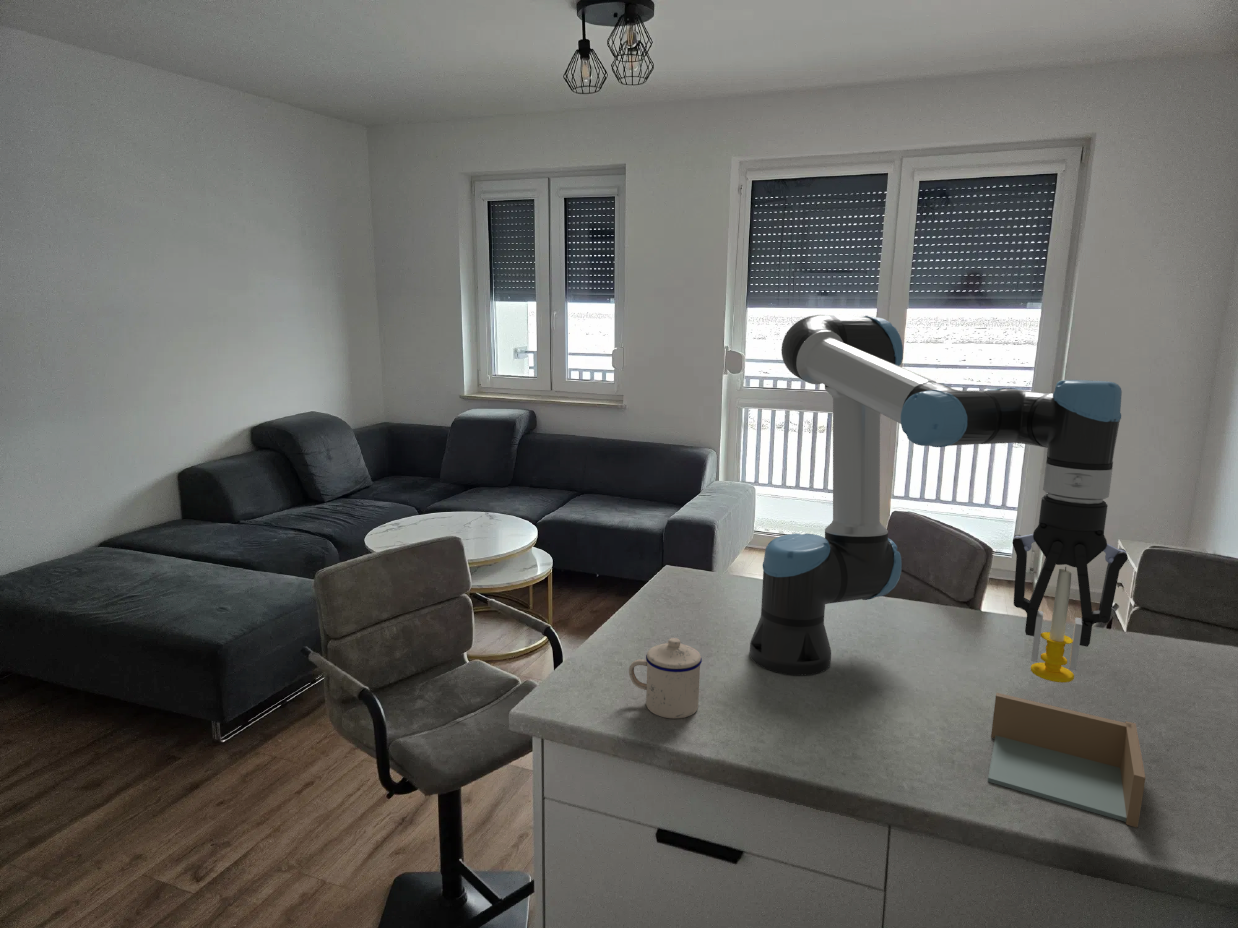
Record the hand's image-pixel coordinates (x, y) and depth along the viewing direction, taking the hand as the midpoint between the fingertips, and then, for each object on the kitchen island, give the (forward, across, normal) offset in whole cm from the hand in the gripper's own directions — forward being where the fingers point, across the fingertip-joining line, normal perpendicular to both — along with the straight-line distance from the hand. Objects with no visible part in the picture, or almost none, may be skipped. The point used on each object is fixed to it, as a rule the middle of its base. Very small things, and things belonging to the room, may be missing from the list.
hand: (1053, 661), depth 102 cm
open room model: (+17, +2, 0) cm, 17 cm away
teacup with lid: (+17, -54, -12) cm, 58 cm away
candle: (+2, 0, 0) cm, 2 cm away
